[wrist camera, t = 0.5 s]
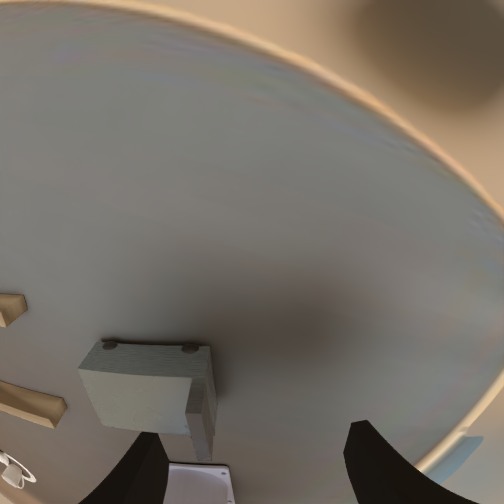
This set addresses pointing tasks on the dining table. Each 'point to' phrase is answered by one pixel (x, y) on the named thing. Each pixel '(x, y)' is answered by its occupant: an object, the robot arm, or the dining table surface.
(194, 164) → the dining table surface
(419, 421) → the dining table surface
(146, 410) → the grey stepped block
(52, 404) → the dock bay
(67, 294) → the dining table surface
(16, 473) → the teacup and saucer
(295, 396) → the dining table surface
